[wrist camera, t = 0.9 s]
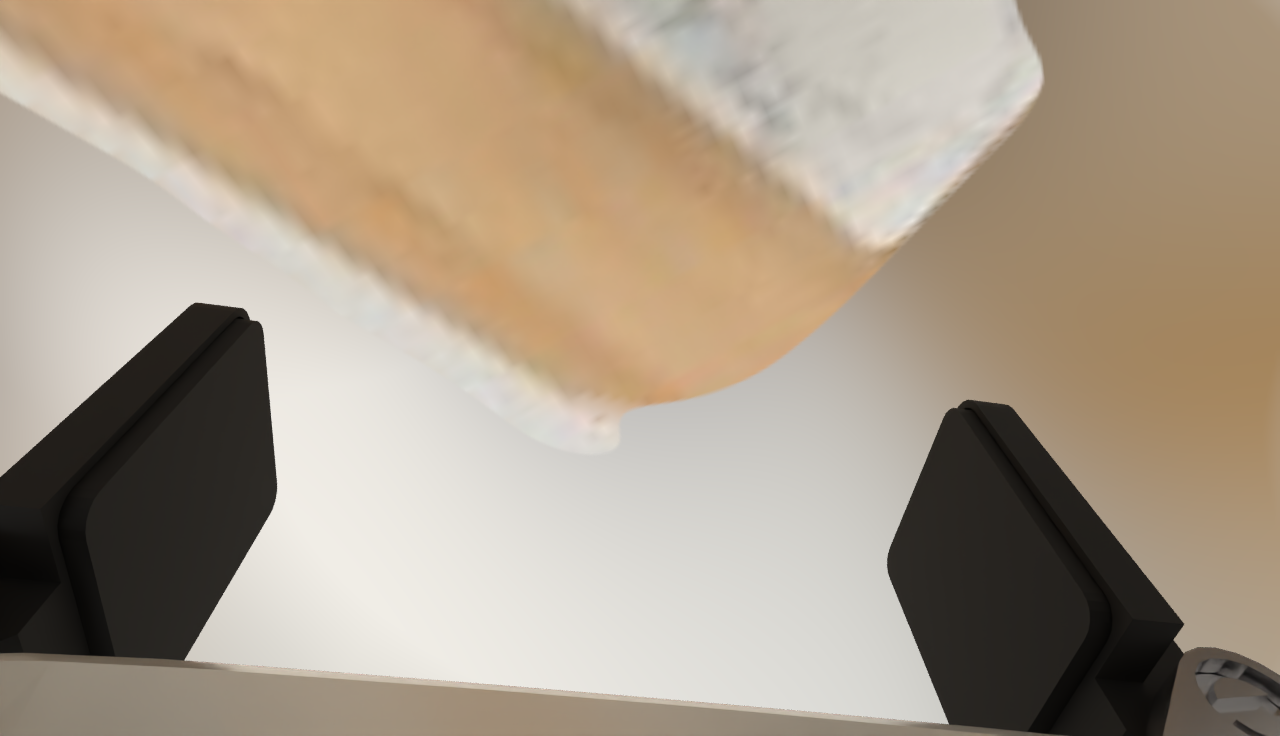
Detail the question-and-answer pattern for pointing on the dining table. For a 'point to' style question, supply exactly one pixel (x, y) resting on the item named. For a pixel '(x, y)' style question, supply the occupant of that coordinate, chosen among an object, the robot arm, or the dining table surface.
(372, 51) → the dining table surface
